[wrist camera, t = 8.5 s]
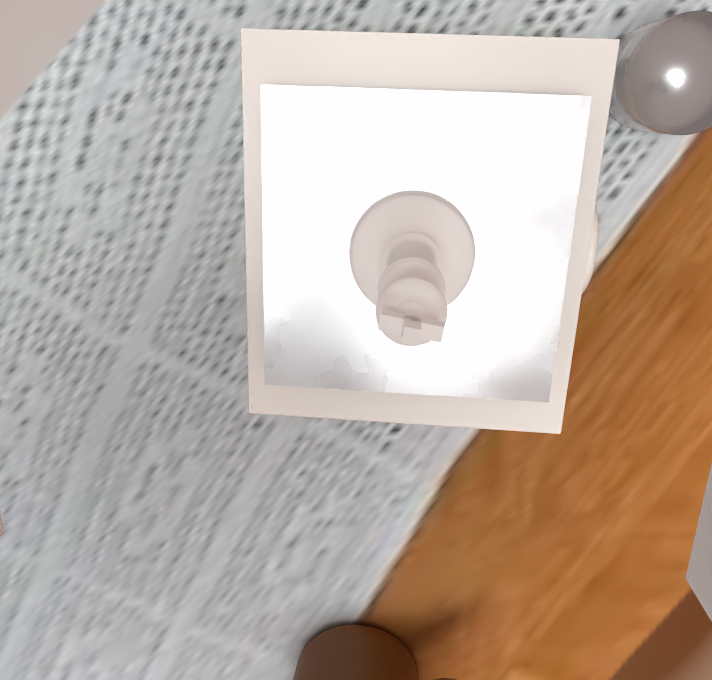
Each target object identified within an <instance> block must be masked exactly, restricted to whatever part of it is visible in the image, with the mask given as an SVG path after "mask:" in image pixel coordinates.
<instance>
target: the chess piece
mask: <svg viewBox="0 0 712 680" xmlns="http://www.w3.org/2000/svg"><path fill="white" fill-rule="evenodd" d="M475 254H476V250H475V241H474V236H473V233H472V230H471V228H470V226H469V224H468V222H467V220H466V219H465V217H464V216H463V214H462V213H461V212H460V211H459V210H458V209H457V208H456V207H455V206H454V205H453V204H451V203H450V202H449V201H447V200H446V199H444V198H442V197H440V196H438V195H435V194H432V193H429V192H424V191H402V192H398V193H394V194H391V195H388V196H386V197H384V198H382V199H380V200H379V201H377V202H376V203H374V204H373V205H372V206H371V207H370V208H369V209H368V210H367V211H366V212H365V213H364V214H363V215H362V217H361V218H360V219H359V221H358V223H357V224H356V226H355V229H354V231H353V234H352V237H351V241H350V248H349V259H350V266H351V270H352V274H353V277H354V279H355V281H356V284H357V285H358V287H359V289H360V290H361V292H362V293H363V294H364V296H365V297H366V298H367V299H368V300H369V301H370V302H372V303H373V304H374V305H375V306H376V319H377V323H378V330H381V331H382V332H383V333H384V334H385V336H386V337H388V338H389V339H390V340H392V341H393V342H395V343H397V344H400V345H404V346H419V345H423V344H426V343H428V342H430V341H434V342H439V343H441V341H442V337H443V333H444V329H445V323H446V320H447V313H448V310H447V306H448V305H450V304H451V303H452V302H453V301H455V300H456V299H457V298H458V297H459V295H460V294H461V293H462V292H463V290H464V289H465V287H466V286H467V284H468V282H469V280H470V277H471V275H472V271H473V268H474V263H475Z"/></svg>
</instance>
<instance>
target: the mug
mask: <svg viewBox="0 0 712 680" xmlns="http://www.w3.org/2000/svg"><path fill="white" fill-rule="evenodd" d="M293 680H419V676H418V672H417V668H416V664H415V662H414V659H413V658H412V656H411V654H410V653H409V651H408V650H407V649H406V647H405V646H404V645H403V644H402V643H401V642H400V641H399V640H397V639H396V638H395V637H393V636H392V635H390V634H388V633H387V632H384V631H382V630H380V629H377V628H374V627H370V626H365V625H342V626H338V627H334V628H331V629H328V630H326V631H324V632H322V633H321V634H319V635H318V636H316V637H315V638H314V639H313V640H311V641H310V642H309V643H308V645H307V646H306V647H305V649H304V650H303V652H302V654H301V656H300V658H299V660H298V663H297V667H296V671H295V675H294V679H293ZM434 680H456V679H450V678H439V679H434Z"/></svg>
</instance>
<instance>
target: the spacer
mask: <svg viewBox="0 0 712 680" xmlns="http://www.w3.org/2000/svg"><path fill="white" fill-rule="evenodd" d="M609 113H610V115H611V116H612V117H613V118H614V119H615V120H616V121H617V122H619V123H620V124H622V125H624V126H625V127H628V128H631V129H634V130H639V131H647V132H656V133H664V134H672V135H689V134H694V133H698V132H701V131H704V130H706V129H708V128H710V127H712V12H709V11H691V12H687V13H683V14H679V15H676V16H673V17H670V18H666V19H663V20H660V21H657V22H653V23H650V24H647V25H644V26H641V27H639V28H637V29H635V30H633V31H631V32H630V33H628V34H627V35H625V36H624V37H623V38H622V39H621V40H620V42H619V48H618V55H617V62H616V68H615V75H614V82H613V88H612V95H611V102H610V108H609Z"/></svg>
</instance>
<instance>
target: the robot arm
mask: <svg viewBox="0 0 712 680" xmlns="http://www.w3.org/2000/svg"><path fill="white" fill-rule="evenodd" d="M3 534H4V531H3V525H2V519H1V513H0V537H1V536H2V535H3ZM686 580H687V581H688V583H689V585H690V586H691V588H692V590H693V591H694V593H695V595H696V596H697V598H698V600H699V601H700V603H701V604H702V606H703V608H704V609H705V611H706V613H707V614H708V616H709V618H710V619H711V621H712V464H711V469H710V473H709V477H708V482H707V486H706V491H705V495H704V500H703V504H702V508H701V513H700V517H699V522H698V526H697V531H696V535H695V539H694V544H693V548H692V553H691V557H690V561H689V566H688V570H687V575H686Z"/></svg>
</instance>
